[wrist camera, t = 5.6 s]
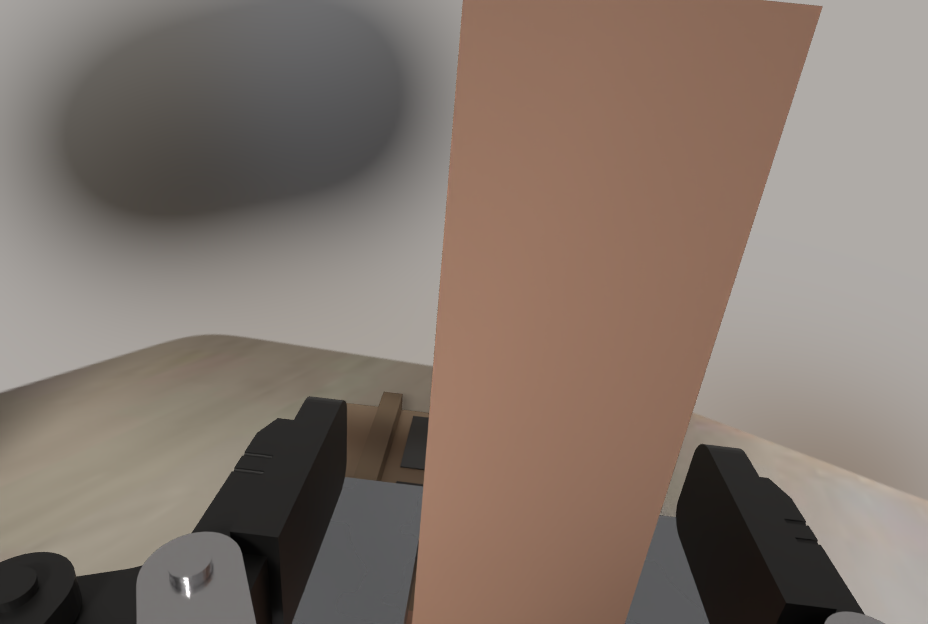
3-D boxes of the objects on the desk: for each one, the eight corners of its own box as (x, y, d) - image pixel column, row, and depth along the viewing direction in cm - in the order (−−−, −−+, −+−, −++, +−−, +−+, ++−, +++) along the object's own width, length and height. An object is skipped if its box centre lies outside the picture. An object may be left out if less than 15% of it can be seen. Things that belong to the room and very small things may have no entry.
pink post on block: (662, 1161, 10) (1713, 24, 2) (226, 1097, 10) (-116, -153, 3) (598, 700, 17) (807, 43, 10) (342, 667, 18) (343, -4, 10)
